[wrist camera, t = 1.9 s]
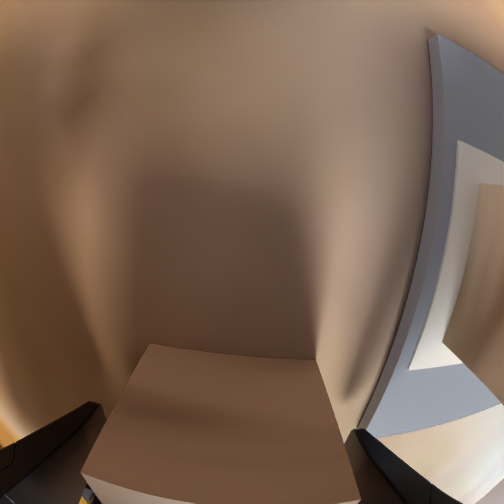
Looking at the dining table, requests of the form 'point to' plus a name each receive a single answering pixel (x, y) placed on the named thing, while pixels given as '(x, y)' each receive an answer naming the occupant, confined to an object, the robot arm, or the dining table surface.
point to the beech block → (482, 296)
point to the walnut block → (221, 434)
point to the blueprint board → (444, 250)
